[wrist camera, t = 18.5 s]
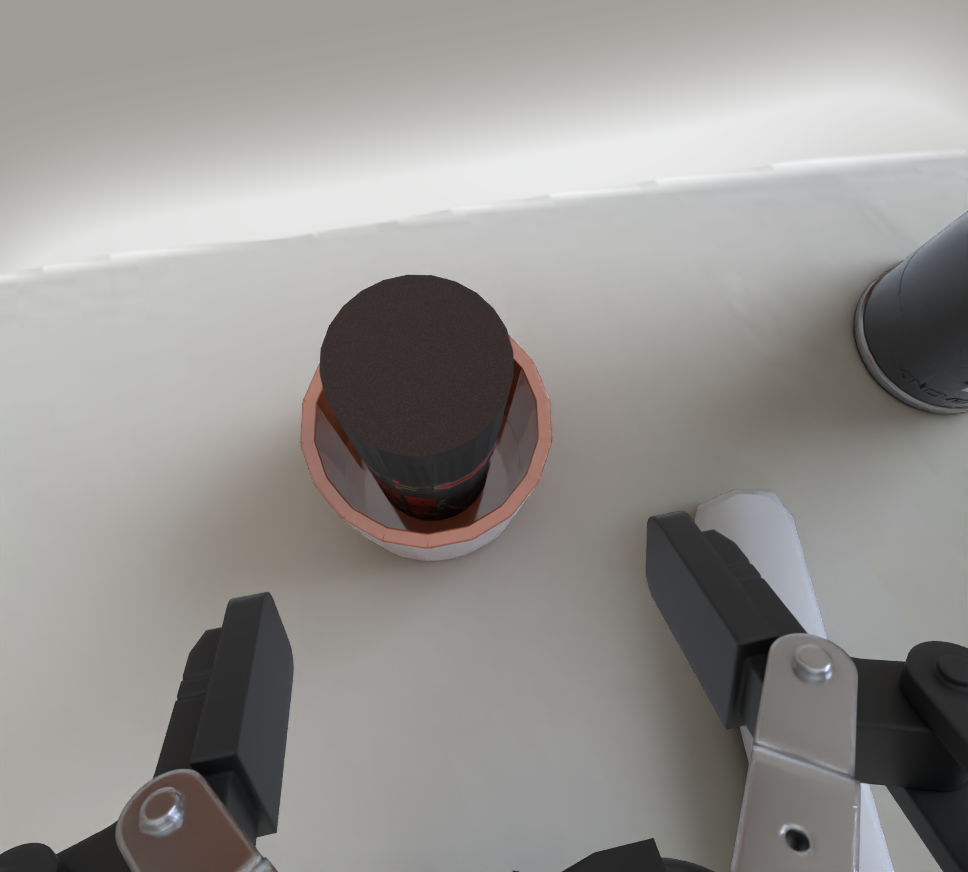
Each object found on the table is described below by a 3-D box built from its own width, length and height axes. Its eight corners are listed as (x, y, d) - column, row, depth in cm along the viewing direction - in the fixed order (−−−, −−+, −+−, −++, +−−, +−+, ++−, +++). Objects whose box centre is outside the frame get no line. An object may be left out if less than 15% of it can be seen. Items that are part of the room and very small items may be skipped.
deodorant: (371, 418, 35) (312, 284, 20) (480, 406, 35) (499, 265, 21) (382, 528, 33) (326, 467, 19) (495, 513, 34) (527, 443, 19)
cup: (398, 342, 37) (382, 266, 28) (562, 429, 36) (594, 377, 28) (298, 500, 34) (249, 467, 26) (472, 598, 33) (478, 596, 25)
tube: (680, 493, 31) (834, 1127, 25) (797, 471, 30) (990, 1131, 23) (678, 505, 36) (806, 1034, 30) (778, 486, 35) (934, 1033, 28)
